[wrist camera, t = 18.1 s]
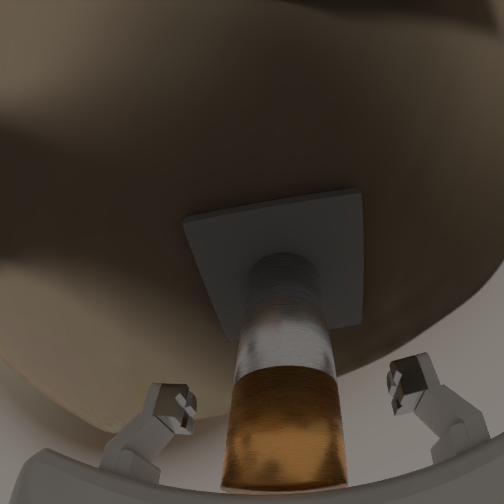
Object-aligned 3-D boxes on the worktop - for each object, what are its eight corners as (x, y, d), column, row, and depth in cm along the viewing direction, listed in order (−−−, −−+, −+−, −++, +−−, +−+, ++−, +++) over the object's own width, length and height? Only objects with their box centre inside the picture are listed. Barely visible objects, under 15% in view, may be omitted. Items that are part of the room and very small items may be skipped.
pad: (229, 333, 19) (228, 341, 19) (185, 216, 15) (181, 223, 14) (359, 315, 18) (361, 324, 17) (357, 187, 13) (361, 192, 13)
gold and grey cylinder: (239, 258, 15) (201, 478, 6) (315, 246, 14) (353, 473, 5) (255, 313, 17) (238, 498, 8) (321, 304, 16) (343, 493, 7)
